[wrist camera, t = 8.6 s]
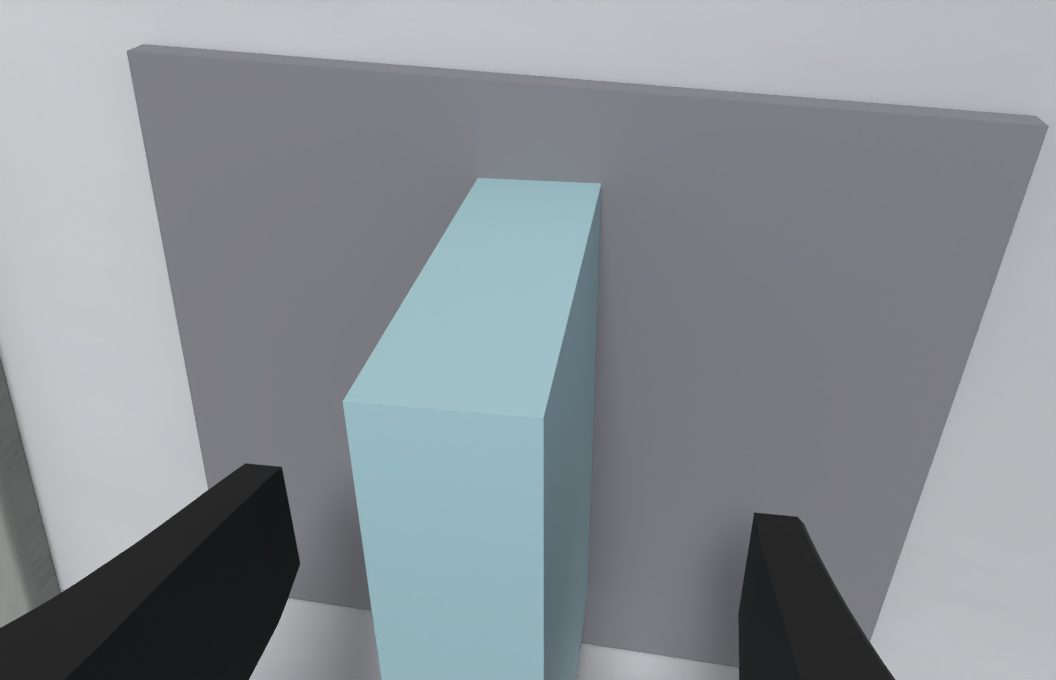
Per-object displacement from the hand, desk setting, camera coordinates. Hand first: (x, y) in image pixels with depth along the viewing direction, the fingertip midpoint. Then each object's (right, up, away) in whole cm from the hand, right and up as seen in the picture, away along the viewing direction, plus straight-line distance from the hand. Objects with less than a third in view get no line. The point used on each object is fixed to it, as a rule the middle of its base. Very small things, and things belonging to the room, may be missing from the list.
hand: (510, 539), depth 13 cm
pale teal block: (0, +2, +3) cm, 3 cm away
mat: (+1, +2, +3) cm, 4 cm away
